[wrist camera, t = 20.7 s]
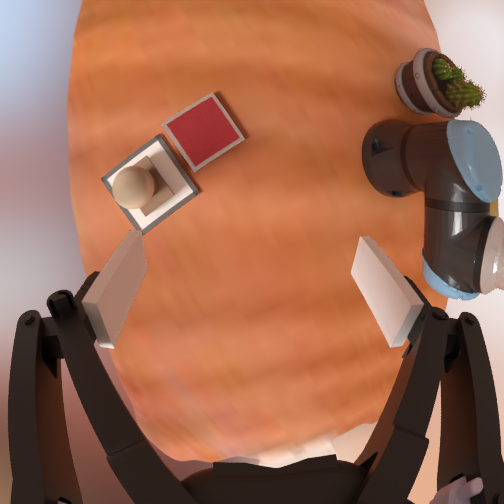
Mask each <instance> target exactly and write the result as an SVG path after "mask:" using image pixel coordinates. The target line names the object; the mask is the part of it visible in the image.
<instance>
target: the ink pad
mask: <svg viewBox="0 0 504 504" xmlns="http://www.w3.org/2000/svg"><path fill="white" fill-rule="evenodd" d="M161 125H162V127H163V128H164V130H165V131H166V133H167V134H168V136H169V137H170V139H171V140H172V142H173V143H174V144H175V146H176V147H177V149H178V150H179V152H180V153H181V155H182V156H183V158H184V159H185V160H186V162H187V163H188V165H189V166H190V168H191V169H192V171H193V172H196V171H197V170H199V169H200V168H202V167H203V166H205V165H206V164H208V163H209V162H211V161H212V160H214V159H215V158H217V157H218V156H220V155H221V154H223V153H224V152H226V151H228V150H229V149H231V148H232V147H234V146H235V145H237V144H239V143H240V142H242V141H244V140H245V138H244V137H243V135H242V134H241V132H240V131H239V129H238V128H237V126H236V125H235V124H234V122H233V121H232V119H231V118H230V116H229V115H228V113H227V112H226V110H225V109H224V108H223V106H222V105H221V103H220V102H219V100H218V99H217V98H216V96H215V95H214V93H213V92H212V93H210V94H209V95H207V96H205V97H203V98H202V99H200V100H198V101H197V102H195V103H193V104H192V105H190V106H188V107H187V108H185V109H183V110H182V111H180V112H179V113H177V114H176V115H174V116H172V117H171V118H169V119H168V120H166V121H165V122H163V123H162V124H161Z"/></svg>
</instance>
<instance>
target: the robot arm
mask: <svg viewBox="0 0 504 504" xmlns="http://www.w3.org/2000/svg"><path fill="white" fill-rule="evenodd" d="M362 161H363V166H364V170H365V173H366V175H367V178H368V179H369V181H370V183H371V184H372V185H373V187H374V188H375V189H376V190H377V191H378V192H380V193H381V194H383V195H386V196H390V197H397V198H399V197H406V196H408V195H411V194H414V193H417V192H420V191H424V196H425V222H424V248H423V249H422V257H423V275H424V278H425V280H426V282H427V283H428V284H429V286H430V287H432V288H433V289H434V290H435V291H437V292H438V293H440V294H442V295H444V296H446V297H449V298H453V299H458V298H460V299H462V300H471V299H474V298H476V297H477V296H478V295H479V294H480V293H482V294H488V293H489V292H491V291H492V290H494V289H496V288H499V289H501V290H504V222H503V220H502V219H501V218H500V217H496V216H491V215H490V203H491V202H492V201H495V200H496V199H497V198H498V197H499V195H500V191H501V188H500V186H501V185H502V166H501V160H500V156H499V153H498V150H497V147H496V145H495V142H494V141H493V139H492V137H491V135H490V134H489V132H488V131H487V130H486V129H485V128H484V127H483V126H482V125H480V124H479V123H478V122H475V121H464V120H462V121H460V120H456V119H455V120H451V121H446V122H437V123H429V124H422V125H411V124H408V123H404V122H400V121H397V120H386V121H381V122H378V123H376V124H374V125H373V126H372V127H371V128H370V129H369V130H368V132H367V134H366V136H365V138H364V141H363V146H362ZM147 270H148V269H147V263H146V257H145V250H144V244H143V237H142V230H130V231H129V232H128V233H127V235H126V236H125V238H124V239H123V240H122V242H121V243H120V244H119V246H118V247H117V249H116V250H115V251H114V253H113V254H112V256H111V257H110V259H109V260H108V261H107V263H106V264H105V266H104V267H103V269H102V270H101V272H97V271H95V272H93V273H92V274H91V275H90V276H88V277H87V279H86V280H85V282H84V284H83V285H82V286H81V288H80V290H79V291H78V292H77V294H76V295H75V297H73V294H72V293H71V292H70V291H68V290H60V291H57V292H55V293H53V294H52V295H50V296H49V298H48V299H47V306H48V309H49V310H50V313H51V315H52V317H46V318H41V316H40V314H39V312H38V311H36V310H29V311H27V312H25V313H23V314H22V315H21V316H20V318H19V320H18V323H17V328H16V333H15V339H14V345H13V352H12V360H11V369H10V380H9V396H8V432H9V433H8V434H9V451H10V461H11V468H12V476H13V483H12V492H11V504H83V502H82V496H81V492H80V487H79V484H78V480H77V476H76V472H75V468H74V464H73V460H72V455H71V450H70V445H69V439H68V434H67V427H66V420H65V412H64V403H63V393H62V379H61V359H63V358H65V361H66V364H67V367H68V370H69V372H70V375H71V378H72V381H73V383H74V386H75V388H76V391H77V393H78V396H79V398H80V400H81V403H82V405H83V408H84V410H85V412H86V414H87V416H88V418H89V420H90V423H91V425H92V426H93V429H94V431H95V433H96V435H97V436H98V439H99V441H100V442H101V444H102V446H103V448H104V450H105V452H106V454H107V461H108V463H109V465H110V467H111V469H112V470H113V472H114V473H115V475H116V477H117V478H118V480H119V481H120V483H121V484H122V486H123V487H124V489H125V490H126V492H127V493H128V495H129V496H130V497H131V499H132V500H133V502H134V503H135V504H414V503H413V502H411V501H410V500H408V499H407V497H408V495H409V493H410V491H411V489H412V487H413V484H414V482H415V480H416V477H417V475H418V472H419V470H420V467H421V465H422V462H423V459H424V456H425V454H426V451H427V448H428V444H429V439H427V438H425V434H426V431H427V428H428V425H429V421H430V418H431V415H432V411H433V407H434V404H435V400H436V395H437V391H438V387H439V382H440V381H441V437H440V452H439V462H438V473H437V493H436V495H435V497H434V499H433V500H431V502H430V503H429V504H504V462H503V458H502V455H501V437H500V424H499V413H498V405H497V398H496V392H495V386H494V380H493V375H492V370H491V366H490V361H489V357H488V353H487V349H486V345H485V341H484V338H483V334H482V330H481V327H480V324H479V322H478V319H477V318H476V317H475V316H474V315H473V314H471V313H468V312H462V313H461V314H460V316H459V318H458V319H453V318H449V316H448V315H447V313H446V312H445V311H444V310H442V309H440V308H438V307H432V306H431V305H430V303H429V302H428V301H427V299H426V298H425V297H424V295H423V294H422V293H421V291H420V290H419V289H418V288H417V286H416V285H415V283H414V282H413V281H412V280H411V279H409V278H408V277H407V276H403V275H402V274H401V273H400V271H399V270H398V269H397V267H396V266H395V265H394V264H393V262H392V261H391V260H390V259H389V258H388V256H387V255H386V254H385V253H384V251H383V250H382V249H381V248H380V247H379V245H378V244H377V243H376V242H375V241H374V239H373V238H372V237H371V236H360V239H359V243H358V247H357V251H356V255H355V259H354V263H353V267H352V270H351V275H352V276H353V278H354V280H355V282H356V283H357V285H358V287H359V289H360V291H361V292H362V294H363V296H364V298H365V300H366V302H367V303H368V305H369V307H370V309H371V311H372V313H373V315H374V316H375V318H376V320H377V322H378V324H379V326H380V328H381V330H382V332H383V334H384V336H385V338H386V340H387V342H388V344H389V346H390V348H392V347H399V346H403V344H404V342H405V340H406V339H407V338H408V339H409V341H410V344H409V346H408V347H407V349H406V351H405V353H404V354H403V356H402V358H404V359H403V362H402V365H401V368H400V370H399V373H398V376H397V378H396V381H395V384H394V386H393V389H392V391H391V393H390V396H389V398H388V401H387V403H386V405H385V407H384V410H383V412H382V414H381V416H380V418H379V421H378V423H377V425H376V427H375V429H374V431H373V433H372V435H371V437H370V439H369V441H368V443H367V444H366V446H365V448H364V450H363V452H362V453H361V455H360V456H359V457H358V459H357V460H356V461H355V462H354V463H350V462H347V461H341V460H337V457H336V454H333V455H327V456H321V457H314V458H307V459H304V460H302V461H299V462H296V463H293V464H290V465H287V466H284V467H280V468H271V467H265V466H259V465H254V464H248V463H221V462H213V468H208V469H204V470H201V471H198V472H196V473H193V474H191V475H190V476H188V477H186V478H185V479H184V480H182V481H181V482H180V481H179V480H178V479H177V477H176V476H175V475H174V474H173V472H172V471H171V470H170V469H169V468H168V466H167V465H166V464H165V463H164V461H163V460H162V459H161V457H160V456H159V455H158V454H157V452H156V451H155V450H154V448H153V447H152V445H151V444H150V442H149V441H148V439H147V438H146V437H145V435H144V434H143V432H142V431H141V429H140V428H139V426H138V425H137V423H136V422H135V420H134V418H133V417H132V415H131V414H130V412H129V410H128V409H127V407H126V406H125V404H124V402H123V400H122V399H121V397H120V395H119V394H118V392H117V390H116V388H115V386H114V385H113V383H112V381H111V379H110V377H109V375H108V373H107V371H106V369H105V368H104V365H103V363H102V361H101V359H100V357H99V355H98V353H97V351H96V349H95V347H94V343H95V340H96V339H97V341H98V343H99V345H100V347H106V348H113V349H114V348H115V345H116V343H117V340H118V337H119V335H120V332H121V330H122V327H123V325H124V323H125V320H126V318H127V315H128V313H129V310H130V308H131V306H132V303H133V301H134V299H135V297H136V294H137V292H138V290H139V287H140V285H141V283H142V281H143V279H144V276H145V274H146V272H147Z"/></svg>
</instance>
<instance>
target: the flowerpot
mask: <svg viewBox="0 0 504 504" xmlns="http://www.w3.org/2000/svg"><path fill="white" fill-rule="evenodd" d="M466 77H467V76H466ZM464 80H465V77H464V73H463V72H462V70H461V69H458V67H456V66H455V64H454V63H453V62H452V61H451V60H450V59H449V58H448V57H447V56H445V55H444V54H441V53H439V52H438V51H436V50H434V49H429V48H425V49H421V48H420V51H418V52H417V53H416V55H415V57H414V59H413V60H412V61H411V62H406V63H404V64H403V63H402V64H401V66H400V67H399V68H398V70H397V72H396V78H395V86H396V91H397V94H398V95H399V97H401V98H400V99H401V101H402V102H403V103H404V104H405V105H406V106H407V107H408V108H410V109H411V110H412V111H414V112H416V113H419V114H425V115H426V114H431V113H437V114H438V115H440V116H442V117H445V118H454V117H457V116H458V115H460V113H461V112H462V109H464V108H466V106H470V108H471V107H473V106H474V105H475V106H476V105H480V104H479V102H480V101H481V99H483V98H484V97H482V96H483V92H482V90H481V89H480V90H481V91H480V90H479V87H478V86H475V85H473V84H472V83H473V82H471V81H469V82H468V83H466V82H467V81H466V82H465V81H464ZM470 82H471V83H470ZM481 92H482V93H481ZM484 94H485V93H484ZM481 95H482V96H481ZM481 97H482V98H481ZM484 100H485V99H484Z"/></svg>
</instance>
